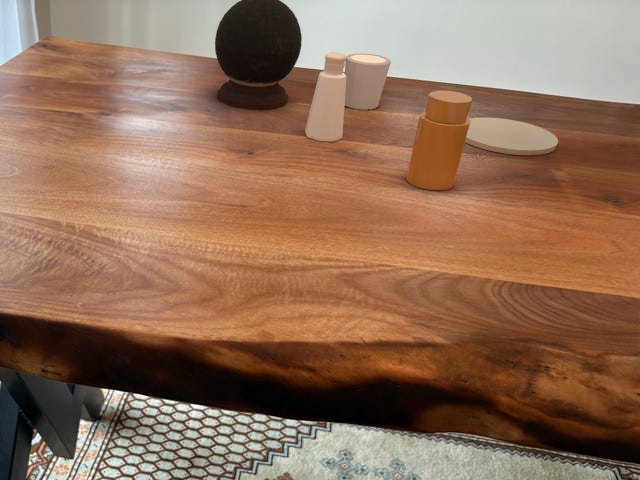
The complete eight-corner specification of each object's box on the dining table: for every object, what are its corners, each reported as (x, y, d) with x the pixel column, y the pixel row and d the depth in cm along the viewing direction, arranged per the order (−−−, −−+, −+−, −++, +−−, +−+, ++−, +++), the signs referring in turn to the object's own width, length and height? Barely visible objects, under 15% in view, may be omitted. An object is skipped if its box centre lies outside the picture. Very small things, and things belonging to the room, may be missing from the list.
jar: (449, 175, 98) (472, 91, 92) (456, 192, 93) (480, 105, 87) (403, 170, 99) (422, 87, 93) (408, 188, 94) (428, 101, 88)
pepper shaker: (349, 140, 108) (364, 58, 101) (315, 143, 106) (328, 60, 100) (330, 128, 112) (343, 48, 105) (297, 131, 110) (308, 50, 104)
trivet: (543, 127, 116) (544, 121, 115) (568, 159, 104) (570, 154, 104) (447, 119, 117) (448, 113, 117) (462, 150, 106) (463, 144, 105)
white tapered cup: (355, 112, 118) (363, 65, 114) (329, 99, 123) (336, 54, 119) (391, 108, 121) (400, 62, 117) (364, 96, 126) (372, 51, 122)
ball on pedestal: (287, 88, 128) (299, -11, 119) (300, 113, 117) (314, 6, 108) (208, 85, 127) (215, -14, 119) (213, 110, 117) (221, 3, 108)
